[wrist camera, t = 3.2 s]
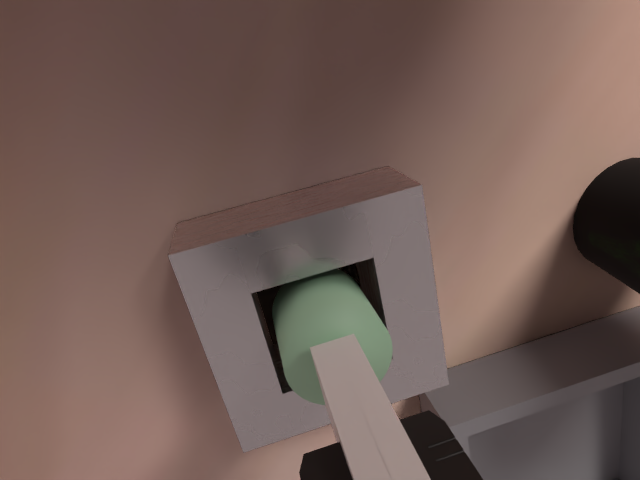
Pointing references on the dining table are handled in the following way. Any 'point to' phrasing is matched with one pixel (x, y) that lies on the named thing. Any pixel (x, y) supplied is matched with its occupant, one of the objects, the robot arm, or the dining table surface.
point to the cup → (612, 222)
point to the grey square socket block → (300, 262)
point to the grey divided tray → (551, 405)
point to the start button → (325, 327)
